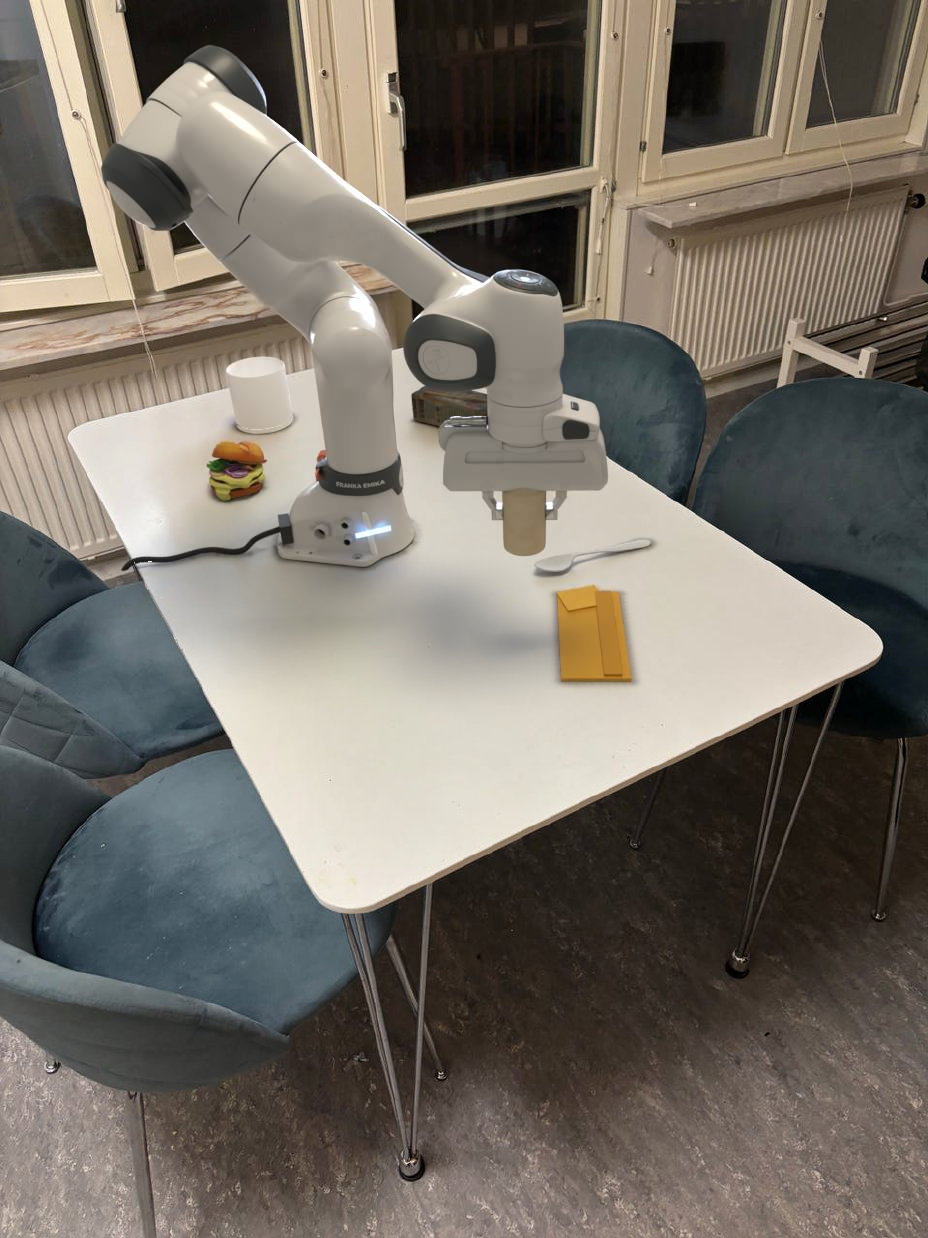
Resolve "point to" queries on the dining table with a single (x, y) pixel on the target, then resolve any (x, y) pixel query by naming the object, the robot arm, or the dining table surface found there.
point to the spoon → (566, 560)
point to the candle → (524, 521)
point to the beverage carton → (447, 405)
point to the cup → (260, 394)
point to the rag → (592, 636)
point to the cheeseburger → (236, 469)
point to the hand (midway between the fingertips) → (524, 518)
